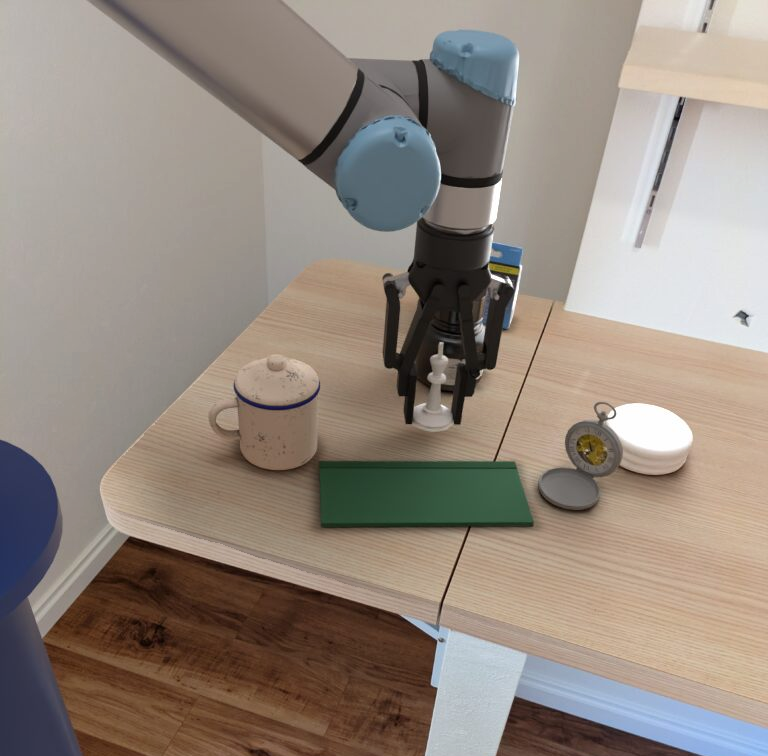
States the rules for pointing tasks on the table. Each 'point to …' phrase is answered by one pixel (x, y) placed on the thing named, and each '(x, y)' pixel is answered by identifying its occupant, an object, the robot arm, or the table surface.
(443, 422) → the chess piece
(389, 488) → the green rectangular panel
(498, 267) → the label tape box
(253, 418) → the teacup with lid
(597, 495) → the pocket watch
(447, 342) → the ink bottle
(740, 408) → the table surface
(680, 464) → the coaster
